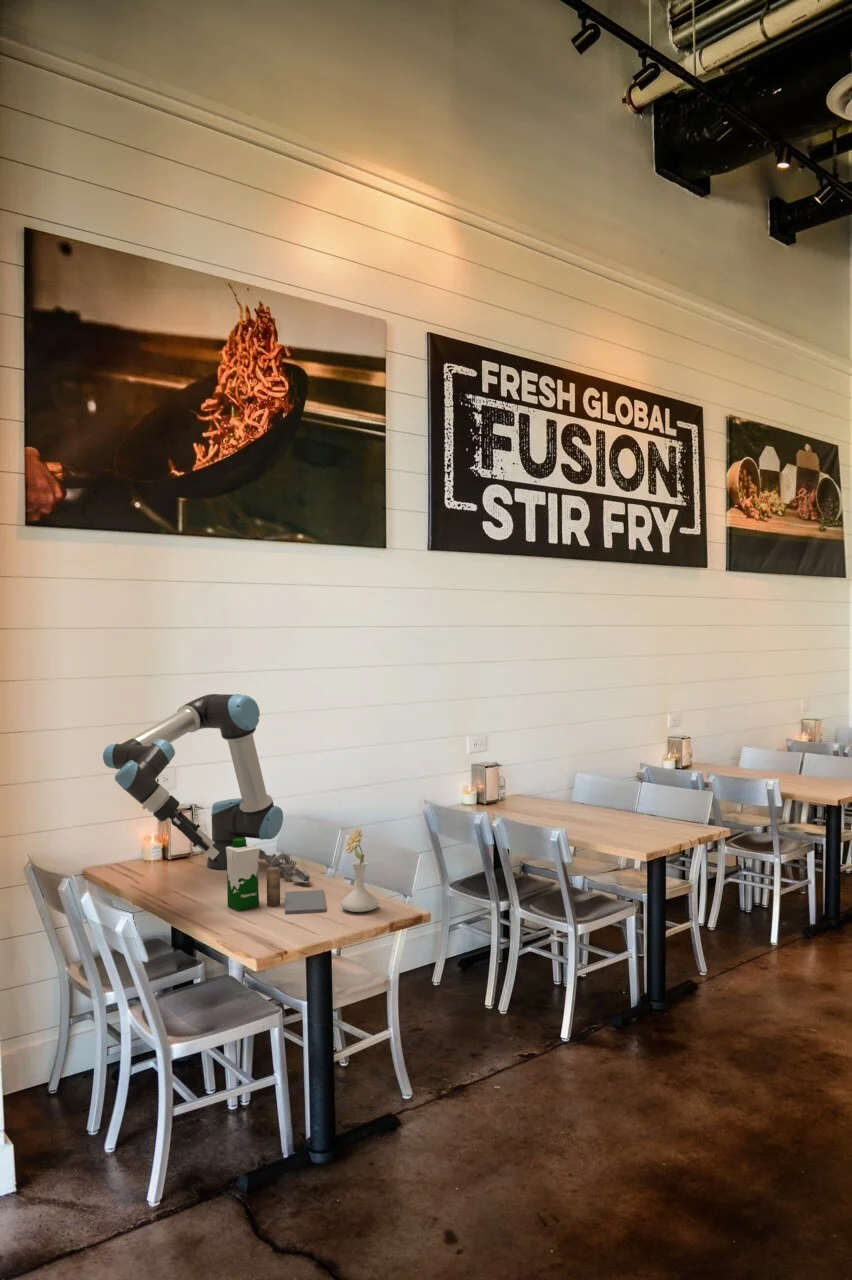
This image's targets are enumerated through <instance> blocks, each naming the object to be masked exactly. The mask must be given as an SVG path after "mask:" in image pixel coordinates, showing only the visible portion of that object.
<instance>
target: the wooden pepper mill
mask: <svg viewBox="0 0 852 1280" xmlns="http://www.w3.org/2000/svg"><path fill="white" fill-rule="evenodd" d="M280 871H281V868H279V867H267V868H266V907H270V908H277V907H280V905H281V877H280Z"/></svg>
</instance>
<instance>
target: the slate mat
mask: <svg viewBox="0 0 852 1280" xmlns="http://www.w3.org/2000/svg"><path fill="white" fill-rule="evenodd" d="M284 894H285V895H284V896H285V897H284V912H285V913H284V914H285V915H294V914H295V915H297V914H298V915H299V914H315V913H327V905H326V899H325V891H324V889H316V890H314V889H313V890H312V889H311V890H297V891H296V890H294V891H293V890H292V891H285V893H284Z"/></svg>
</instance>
